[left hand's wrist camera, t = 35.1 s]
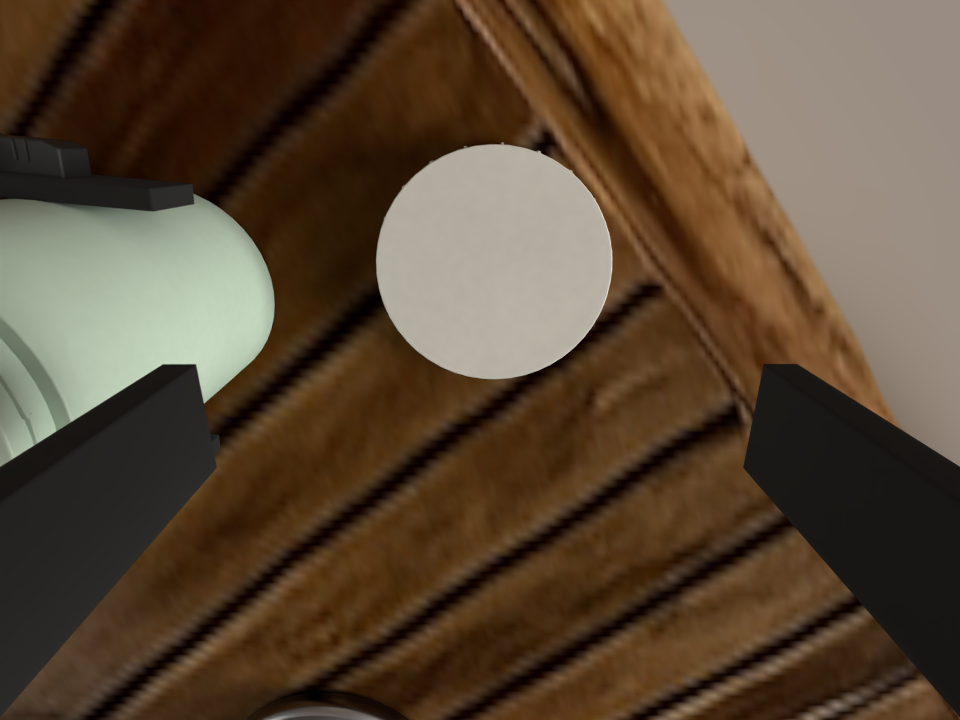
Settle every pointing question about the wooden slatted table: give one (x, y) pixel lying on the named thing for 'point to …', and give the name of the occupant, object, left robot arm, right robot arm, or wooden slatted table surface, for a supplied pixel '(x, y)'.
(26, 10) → the wooden slatted table surface
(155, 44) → the wooden slatted table surface
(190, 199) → the right robot arm
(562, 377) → the wooden slatted table surface
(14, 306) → the jar
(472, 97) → the wooden slatted table surface
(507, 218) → the lid
